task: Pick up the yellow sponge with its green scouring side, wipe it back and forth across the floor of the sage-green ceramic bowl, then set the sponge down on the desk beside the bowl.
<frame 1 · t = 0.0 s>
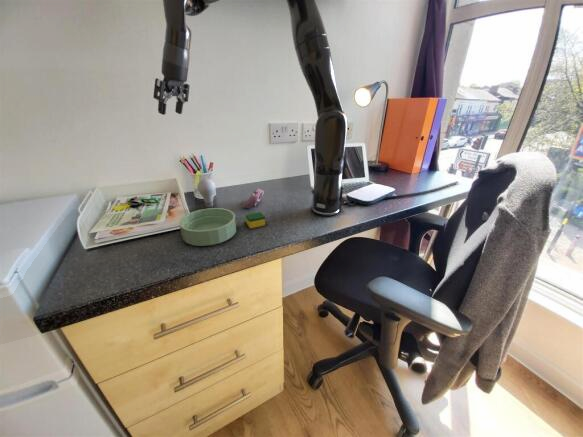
hand: (170, 113, 83), 31 cm above the table, tool tilted 20°, fingers open, 8 cm apart
pink knobbly lump: (254, 204, 90), on the table
external hard drive: (370, 196, 99), on the table
sponge: (255, 224, 75), on the table
lightbulb: (209, 208, 87), on the table
bowl: (210, 233, 70), on the table
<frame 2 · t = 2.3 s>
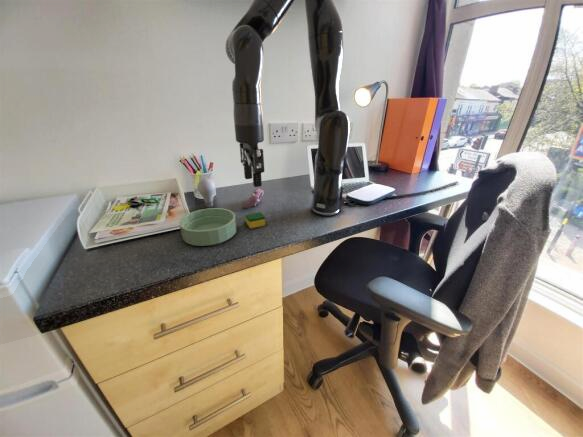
hand: (252, 182, 69), 14 cm above the table, tool pointing down, fingers open, 8 cm apart
nothing on the table moved.
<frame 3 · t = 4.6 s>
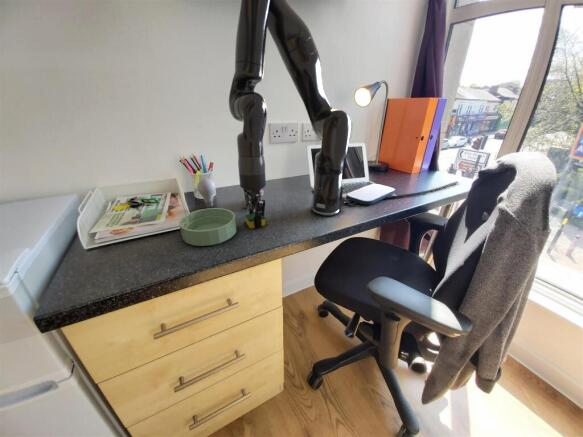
hand: (255, 223, 75), 0 cm above the table, tool pointing down, fingers closed on sponge, 4 cm apart
sponge: (255, 224, 75), on the table, touching gripper
everything else where it was.
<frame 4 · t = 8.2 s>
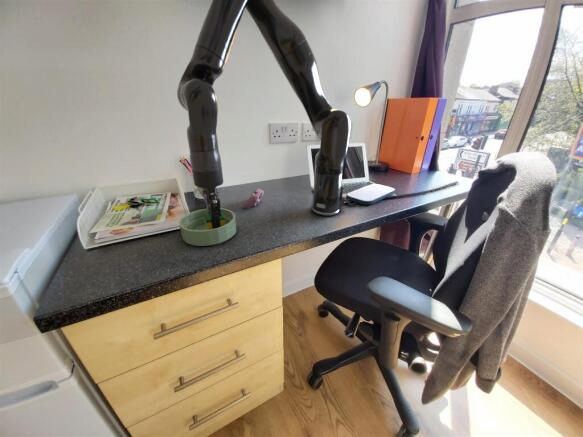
hand: (215, 224, 69), 3 cm above the table, tool pointing down, fingers closed on sponge, 4 cm apart
sponge: (215, 225, 69), point 2 cm above the table, touching gripper
everything else where it was.
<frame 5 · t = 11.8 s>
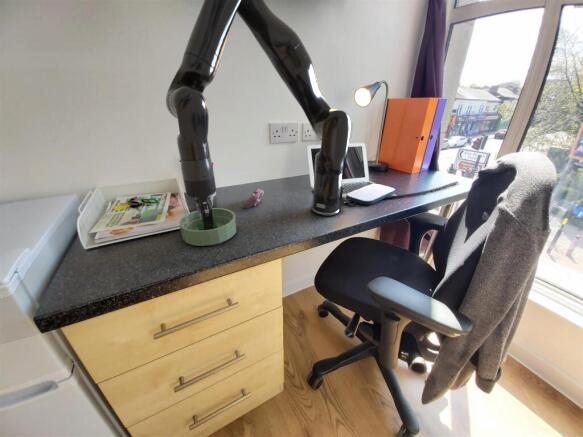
hand: (208, 233, 68), 1 cm above the table, tool pointing down, fingers closed on sponge, 4 cm apart
sponge: (208, 234, 68), point 1 cm above the table, touching gripper
everything else where it was.
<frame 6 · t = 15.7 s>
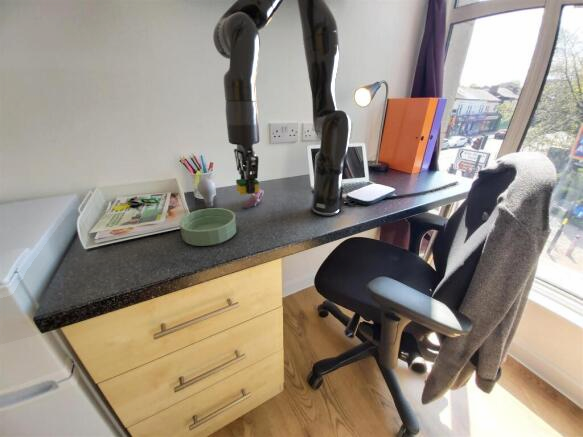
hand: (248, 190, 64), 14 cm above the table, tool pointing down, fingers closed on sponge, 4 cm apart
sponge: (248, 191, 64), point 13 cm above the table, touching gripper
everything else where it was.
when the fingers open (0 cm above the table, at t = 19.1 s): sponge stays where it is, on the table.
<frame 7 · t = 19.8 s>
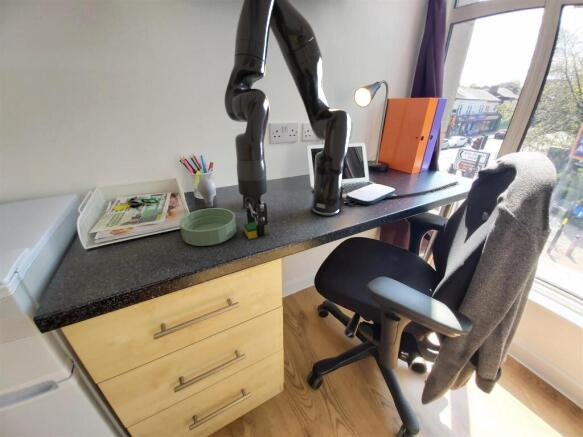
hand: (255, 229, 69), 2 cm above the table, tool pointing down, fingers open, 8 cm apart
sponge: (254, 234, 70), on the table
everything else where it was.
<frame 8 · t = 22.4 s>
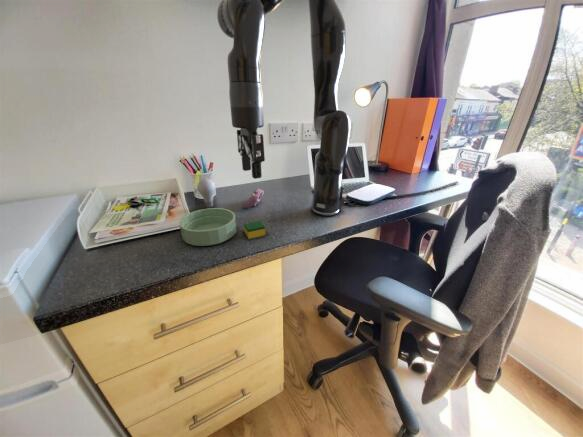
hand: (251, 173, 62), 18 cm above the table, tool pointing down, fingers open, 8 cm apart
nothing on the table moved.
at the end: sponge 0.2 cm from the target spot, on the table; the gripper is holding nothing; sponge tilted 0° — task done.
